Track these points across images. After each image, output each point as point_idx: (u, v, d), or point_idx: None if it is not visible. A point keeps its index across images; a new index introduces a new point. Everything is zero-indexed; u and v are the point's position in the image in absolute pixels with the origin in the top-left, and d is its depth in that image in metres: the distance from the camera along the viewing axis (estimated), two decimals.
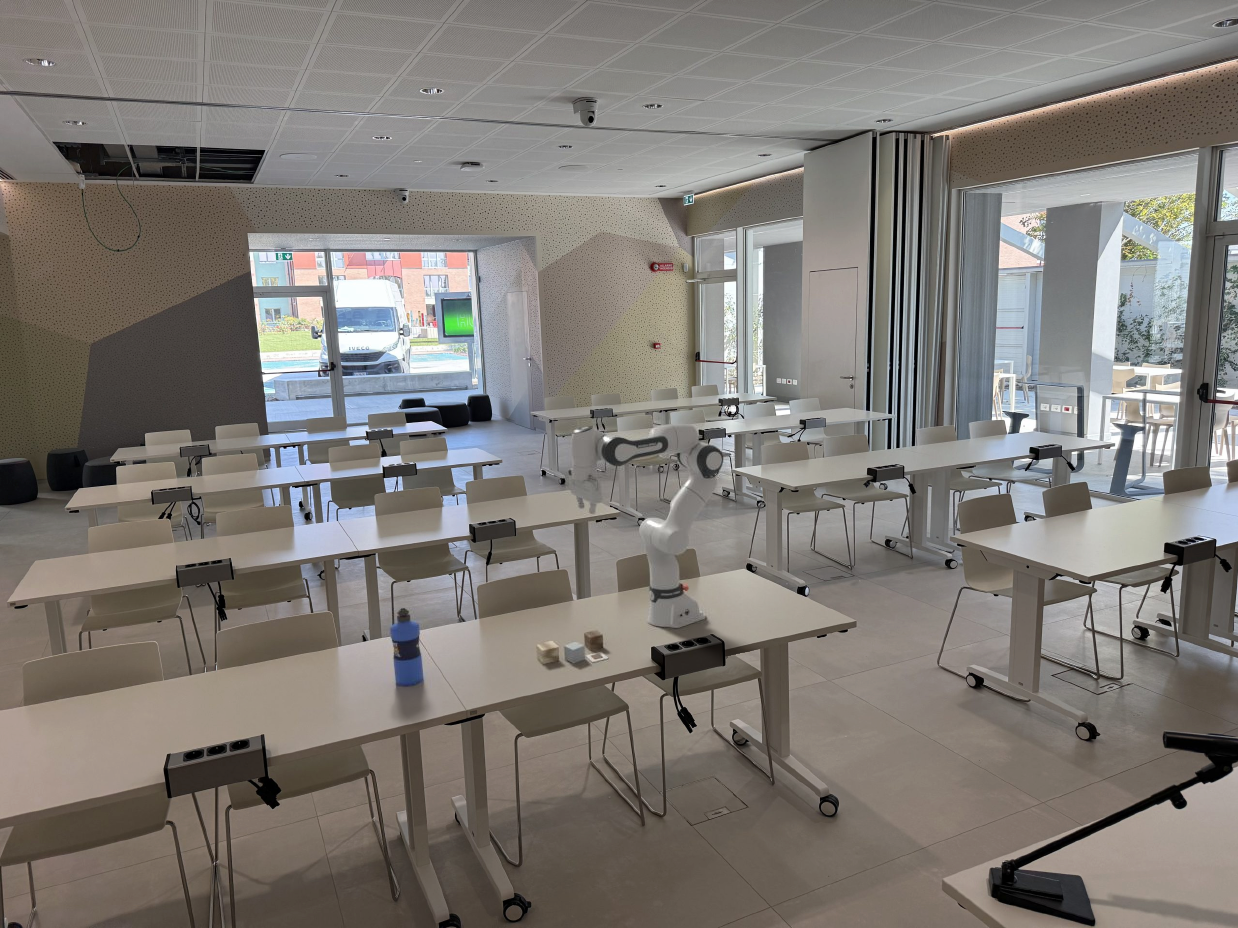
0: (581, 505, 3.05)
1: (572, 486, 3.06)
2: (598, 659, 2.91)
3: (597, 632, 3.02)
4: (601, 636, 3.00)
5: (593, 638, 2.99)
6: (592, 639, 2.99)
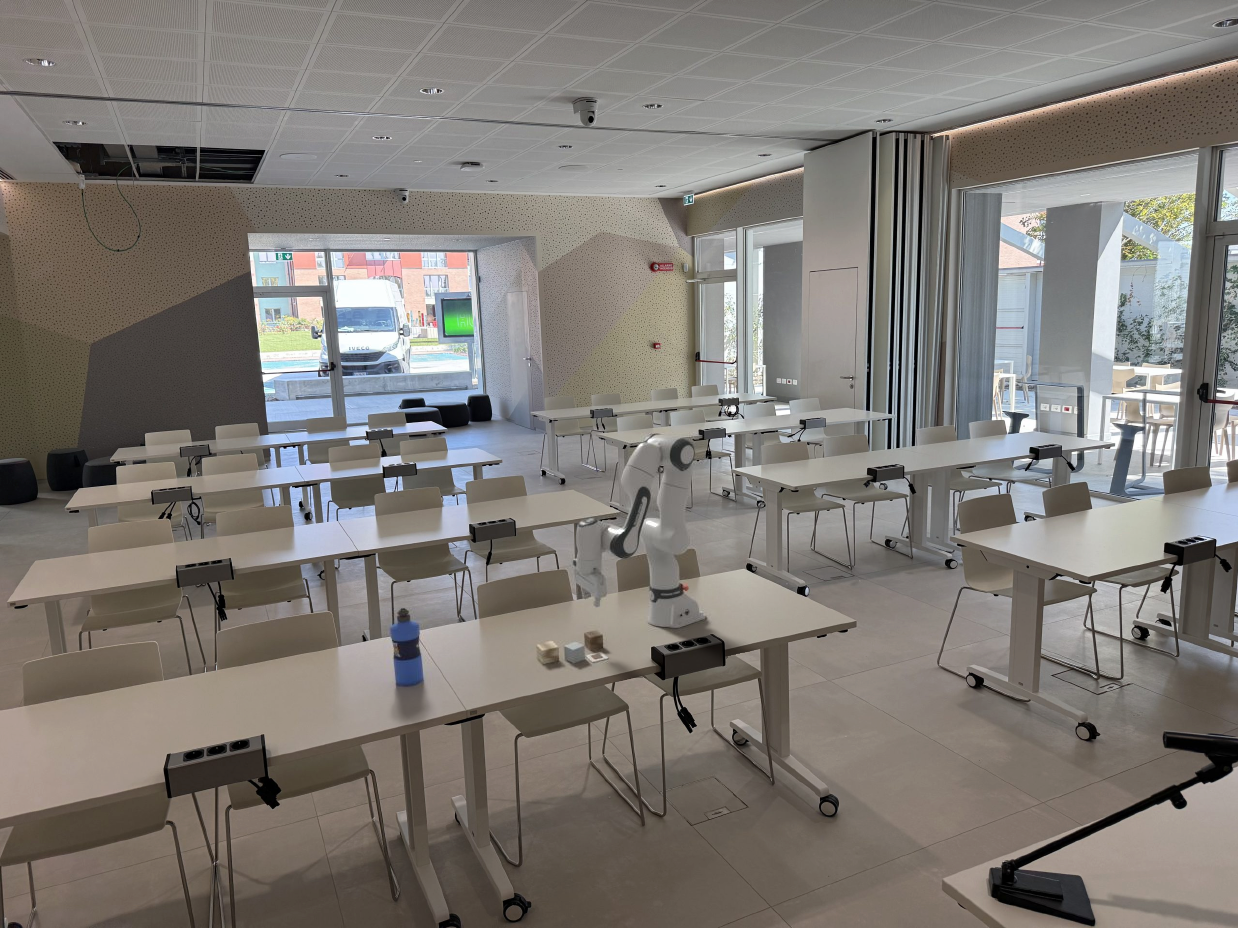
0: (585, 595, 3.02)
1: (576, 576, 3.04)
2: (598, 659, 2.91)
3: (597, 632, 3.02)
4: (601, 636, 3.00)
5: (593, 638, 2.99)
6: (592, 639, 2.99)
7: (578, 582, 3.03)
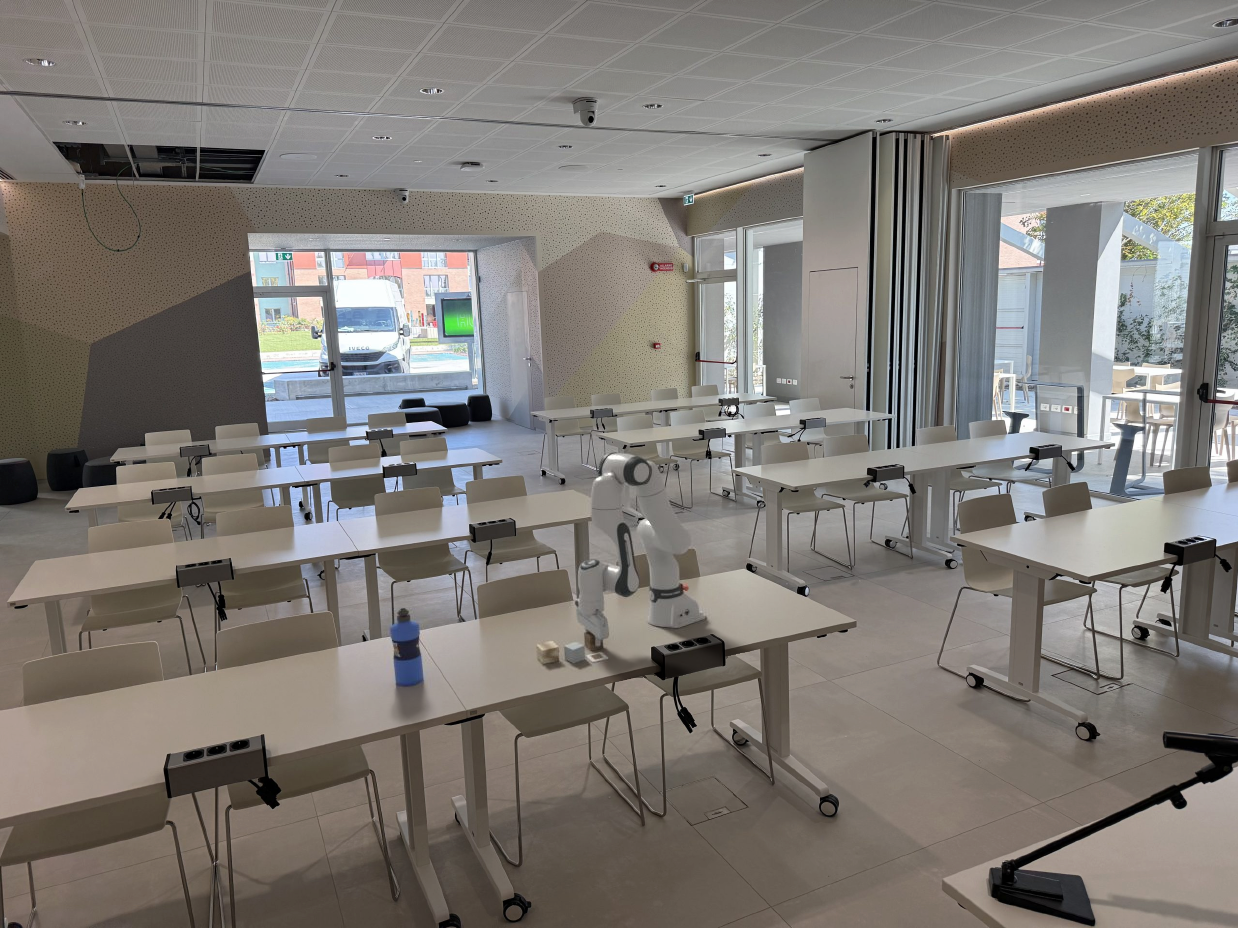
0: None
1: (579, 615, 3.07)
2: (598, 659, 2.91)
3: None
4: None
5: (593, 638, 2.99)
6: (592, 638, 2.99)
7: (580, 622, 3.06)
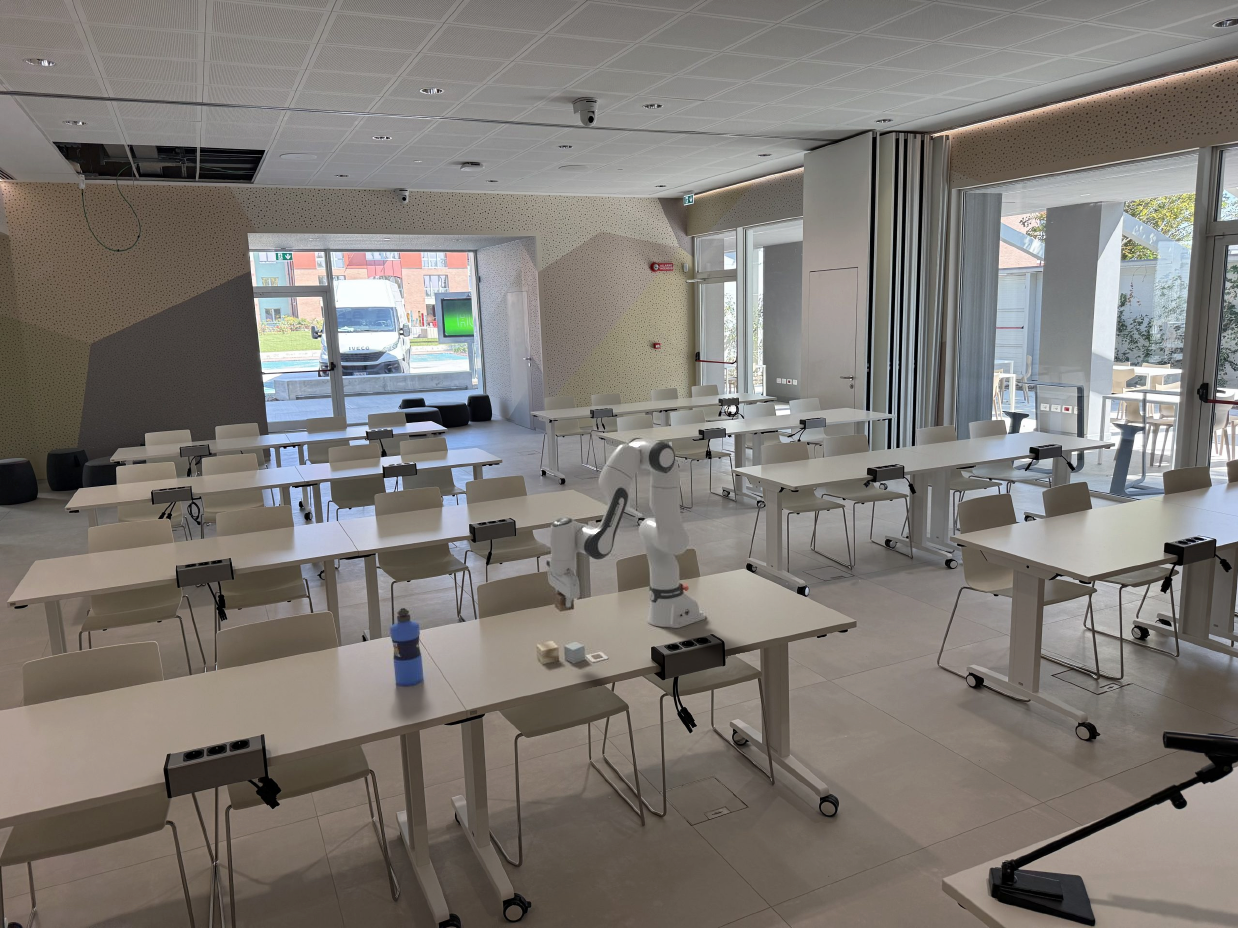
0: None
1: (550, 576, 2.98)
2: (598, 659, 2.91)
3: None
4: None
5: (563, 598, 2.90)
6: (563, 599, 2.90)
7: (551, 583, 2.97)
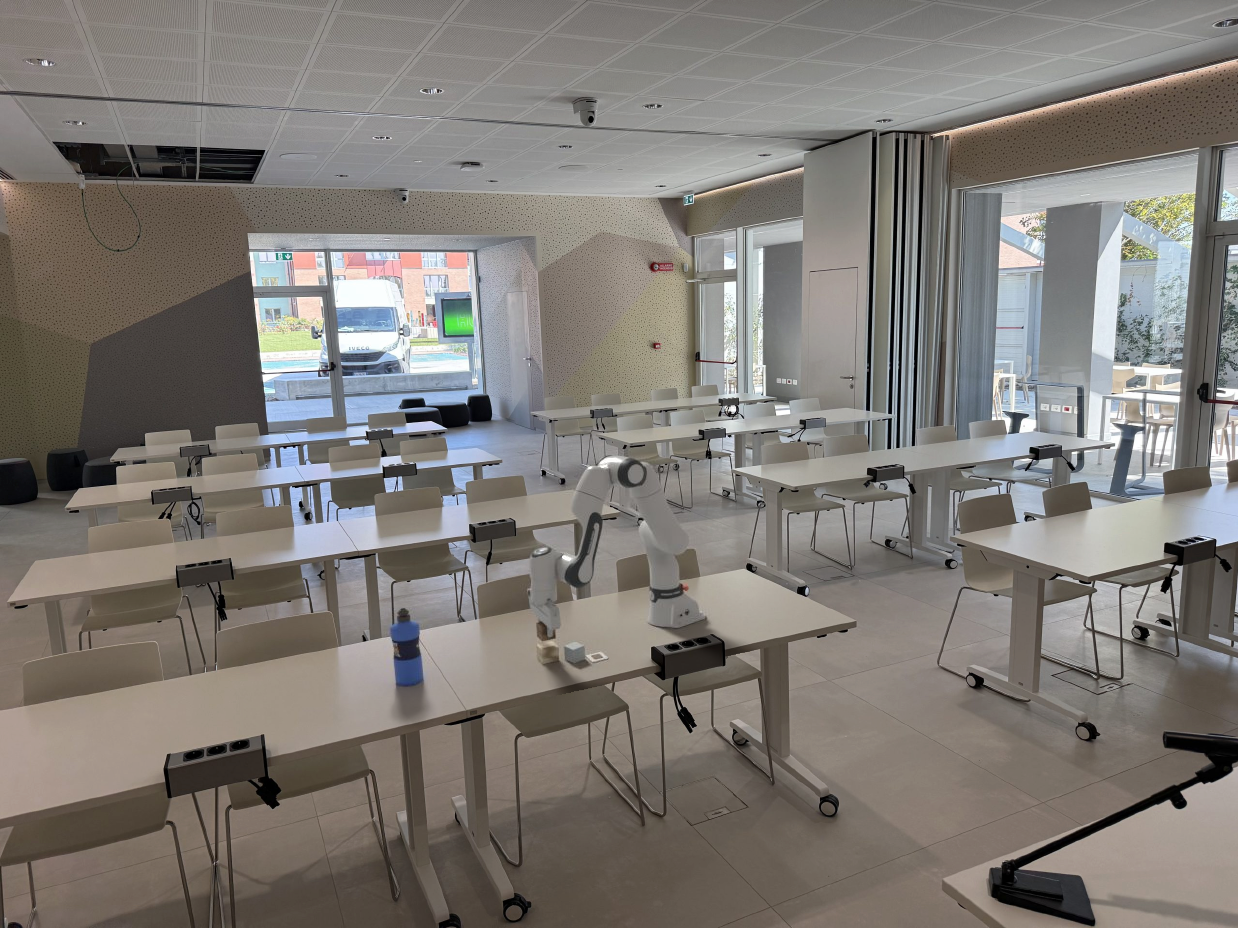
0: None
1: (532, 605, 2.97)
2: (598, 659, 2.91)
3: None
4: None
5: (545, 628, 2.89)
6: (544, 629, 2.89)
7: (533, 612, 2.96)
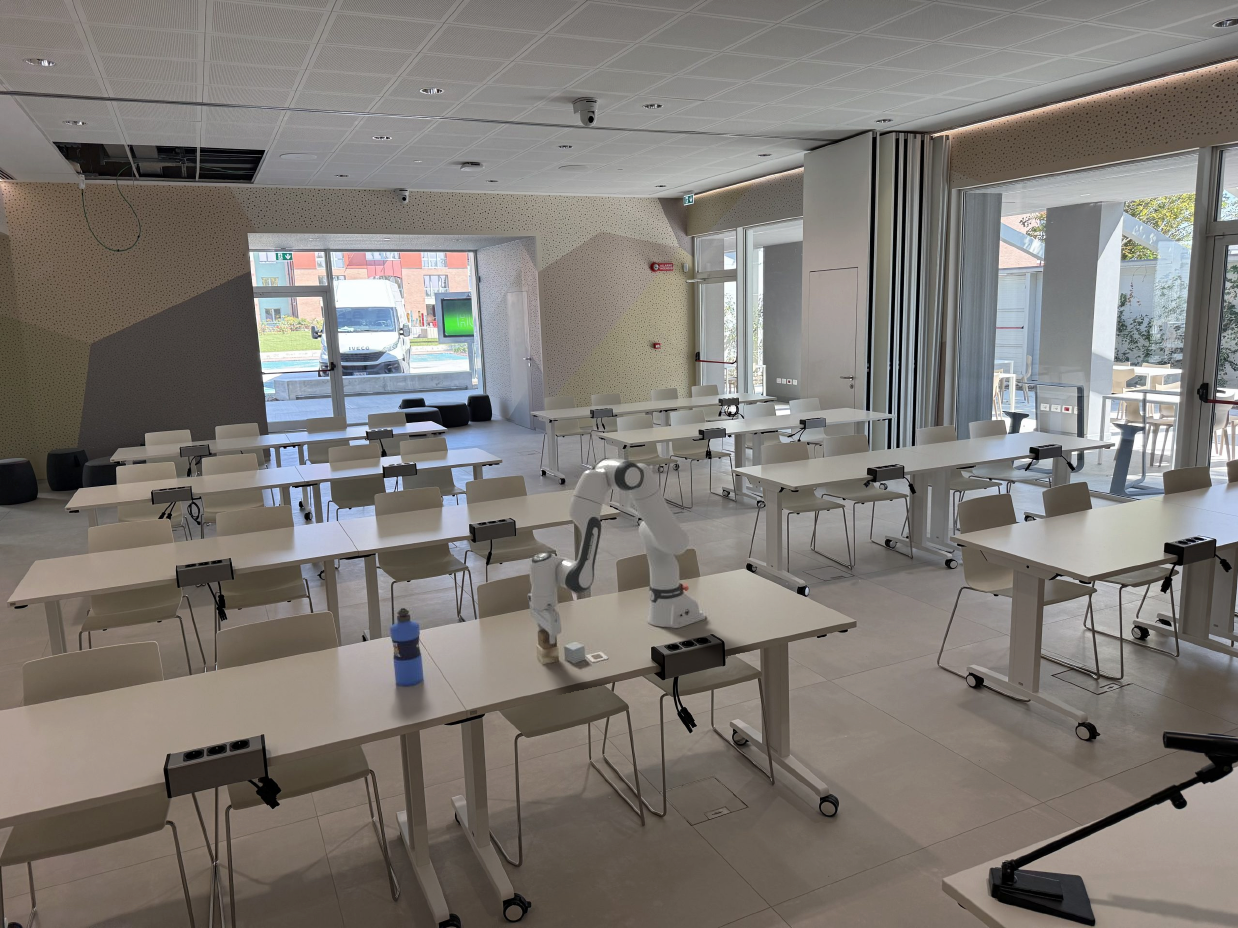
0: None
1: (532, 611, 2.97)
2: (598, 659, 2.91)
3: None
4: None
5: (546, 636, 2.89)
6: (545, 637, 2.89)
7: (534, 617, 2.96)
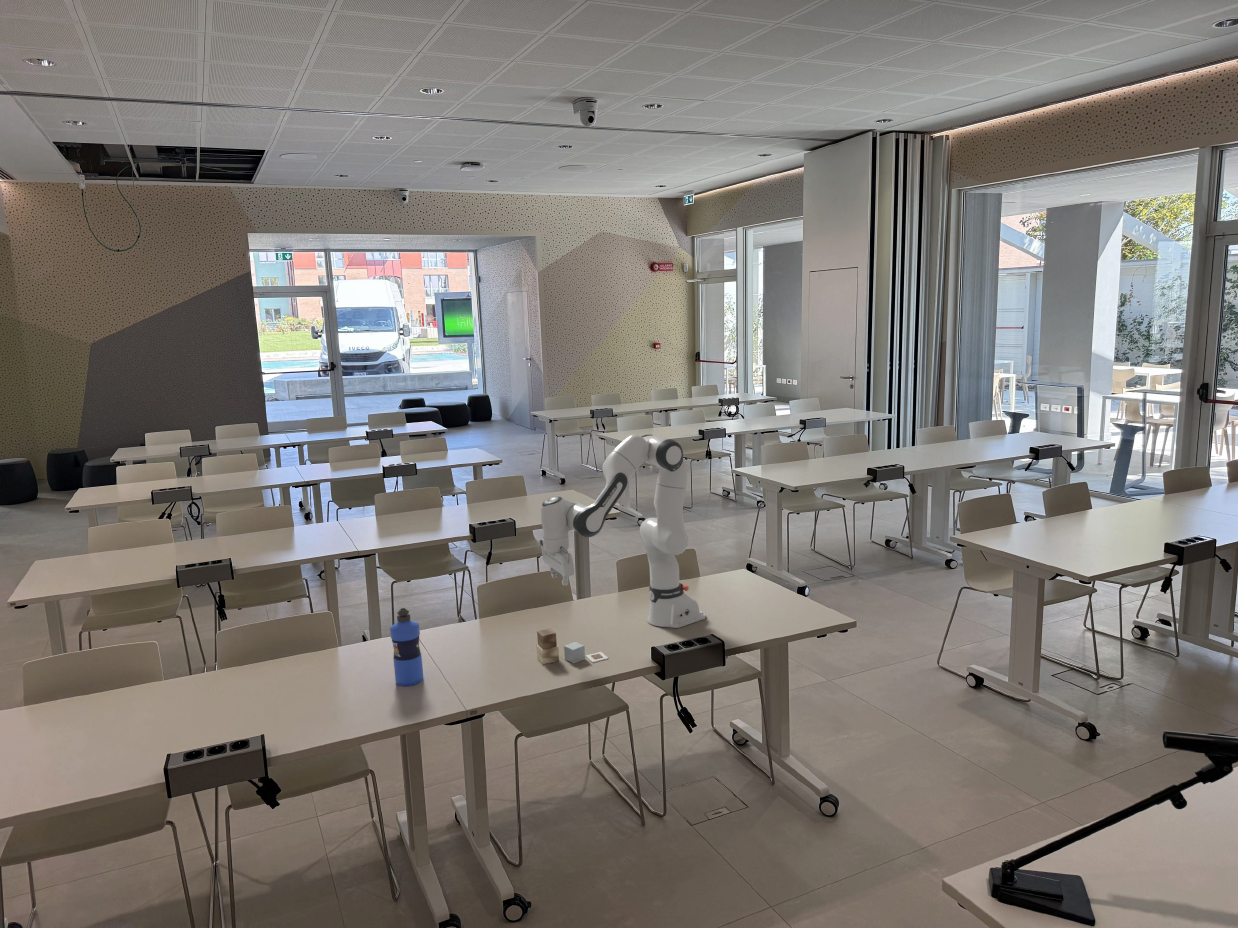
0: (554, 575, 3.00)
1: (544, 555, 3.01)
2: (598, 659, 2.91)
3: (550, 630, 2.93)
4: (554, 634, 2.91)
5: (546, 636, 2.89)
6: (545, 637, 2.89)
7: (546, 562, 3.01)
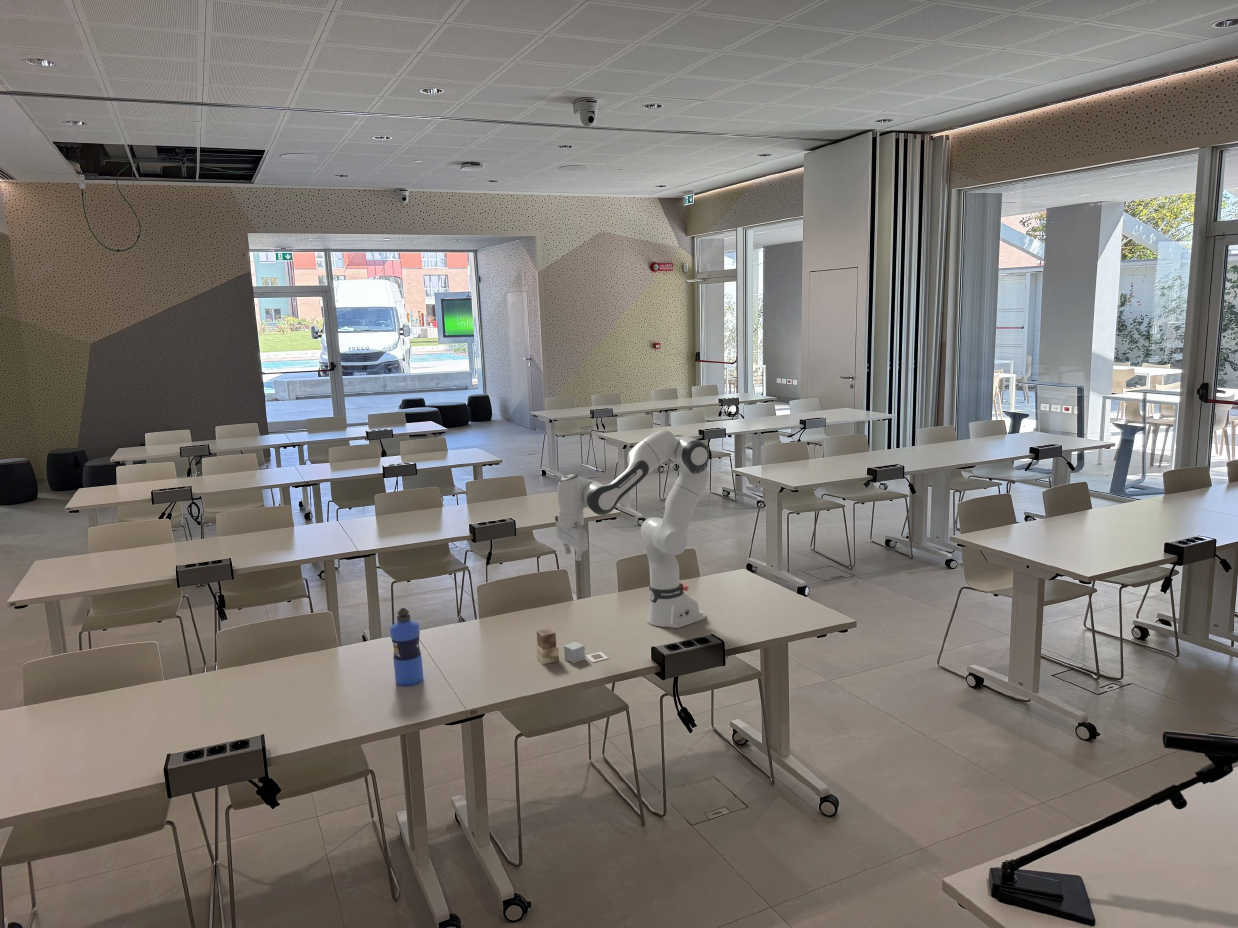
0: (568, 551, 3.08)
1: (559, 532, 3.09)
2: (598, 659, 2.91)
3: (550, 630, 2.93)
4: (554, 634, 2.91)
5: (546, 636, 2.89)
6: (545, 637, 2.89)
7: (560, 538, 3.08)
